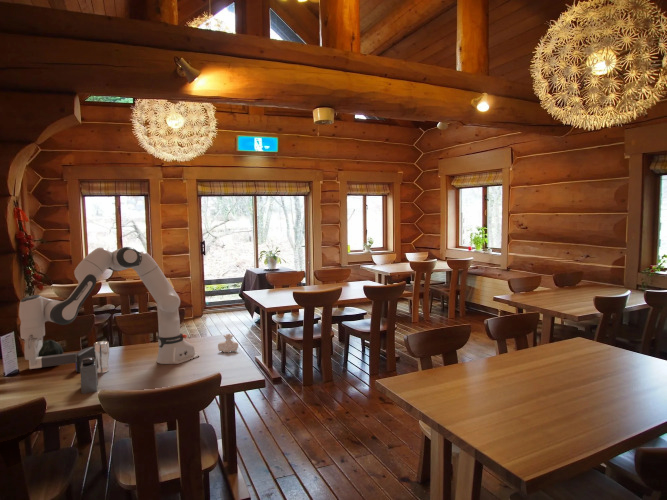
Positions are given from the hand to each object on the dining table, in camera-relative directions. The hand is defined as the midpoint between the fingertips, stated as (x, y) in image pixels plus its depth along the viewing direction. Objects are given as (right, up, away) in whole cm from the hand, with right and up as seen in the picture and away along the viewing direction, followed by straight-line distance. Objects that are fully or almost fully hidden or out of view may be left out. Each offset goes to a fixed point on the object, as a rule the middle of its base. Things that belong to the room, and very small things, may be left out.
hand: (34, 363), depth 189 cm
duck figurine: (+69, -10, +65) cm, 95 cm away
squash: (-23, -12, +42) cm, 50 cm away
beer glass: (+12, -13, +33) cm, 37 cm away
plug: (+6, -1, +3) cm, 7 cm away
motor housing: (+18, -14, +10) cm, 26 cm away
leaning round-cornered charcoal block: (+1, -13, +38) cm, 40 cm away
